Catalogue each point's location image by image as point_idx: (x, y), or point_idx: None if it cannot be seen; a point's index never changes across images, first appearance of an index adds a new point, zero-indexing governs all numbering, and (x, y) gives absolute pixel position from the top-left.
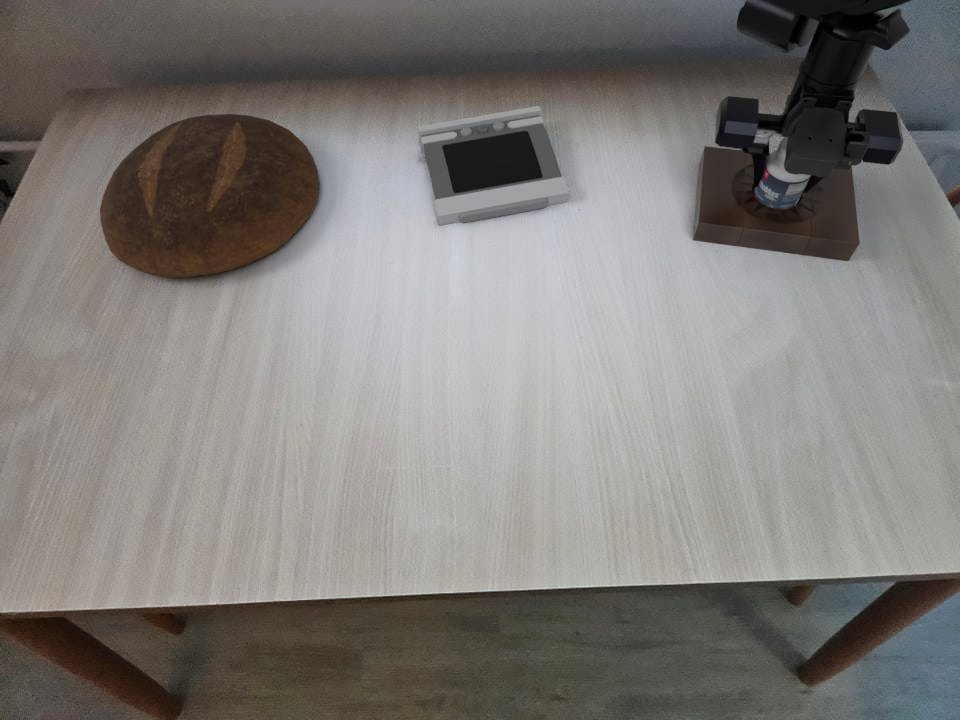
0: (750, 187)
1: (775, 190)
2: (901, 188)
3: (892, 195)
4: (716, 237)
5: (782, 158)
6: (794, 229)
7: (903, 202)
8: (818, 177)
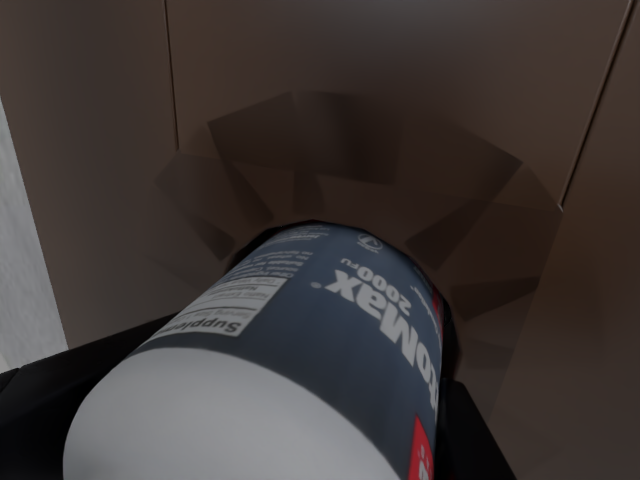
0: (464, 383)
1: (353, 315)
2: (27, 325)
3: (38, 306)
4: None
5: None
6: (253, 48)
7: (13, 281)
8: (62, 369)
